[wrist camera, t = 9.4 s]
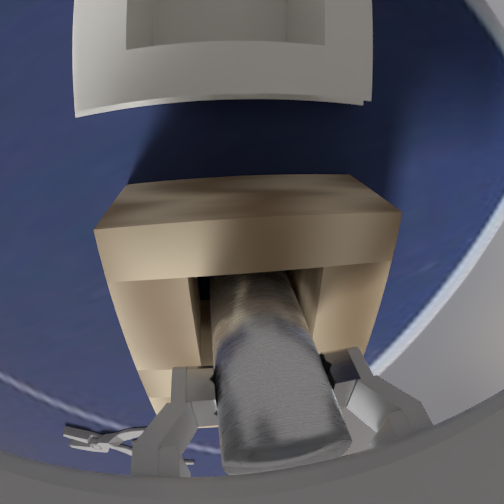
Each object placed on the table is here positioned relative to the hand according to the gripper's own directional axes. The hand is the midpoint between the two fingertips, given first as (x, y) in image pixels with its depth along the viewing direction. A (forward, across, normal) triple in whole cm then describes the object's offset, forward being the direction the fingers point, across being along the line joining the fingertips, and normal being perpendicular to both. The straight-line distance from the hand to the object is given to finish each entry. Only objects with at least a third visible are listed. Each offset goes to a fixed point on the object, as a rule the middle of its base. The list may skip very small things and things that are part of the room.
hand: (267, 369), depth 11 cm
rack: (+8, +1, -14) cm, 16 cm away
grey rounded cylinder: (+8, 0, 0) cm, 8 cm away
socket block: (+8, 0, +2) cm, 8 cm away
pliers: (+9, +13, +23) cm, 28 cm away
